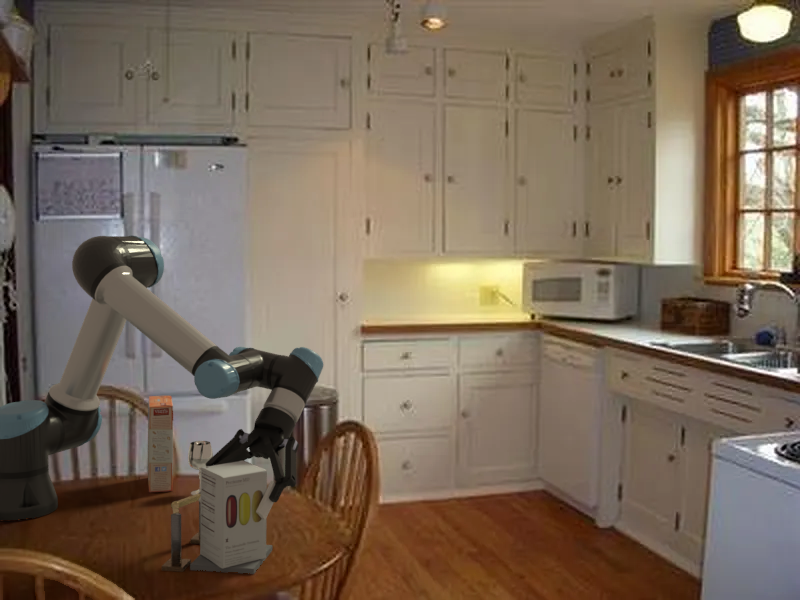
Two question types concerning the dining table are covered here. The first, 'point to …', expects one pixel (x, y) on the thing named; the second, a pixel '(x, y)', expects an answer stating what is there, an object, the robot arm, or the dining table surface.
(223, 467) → the supplement box
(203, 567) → the mat
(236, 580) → the dining table surface
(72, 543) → the dining table surface
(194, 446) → the wineglass
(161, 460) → the cracker box
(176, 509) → the small hurdle
